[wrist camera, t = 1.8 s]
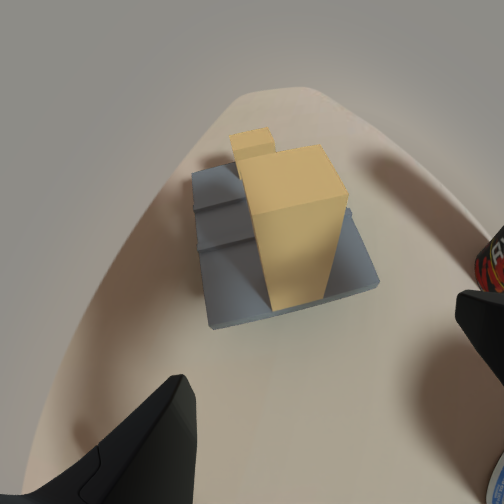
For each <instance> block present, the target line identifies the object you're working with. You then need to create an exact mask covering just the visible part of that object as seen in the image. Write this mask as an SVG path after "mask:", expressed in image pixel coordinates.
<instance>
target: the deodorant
mask: <svg viewBox="0 0 504 504" xmlns="http://www.w3.org/2000/svg"><path fill="white" fill-rule="evenodd" d="M475 275H476V279H477V282H478V284H479V286H480V289H481V290H482V291H485V292H493V293H502V294H504V226H503V227H502V228H501V229H500V231H499V232H498V233H497V234H496V235H495V236H494V237H493V239H492V240H491V241H490V242H489V243H488V244H487V245H486V246H485V247H484V249H483V250H482V251H481V252H480V253H479V254H478V256H477V258H476V261H475Z"/></svg>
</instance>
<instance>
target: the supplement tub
mask: <svg viewBox="0 0 504 504" xmlns="http://www.w3.org/2000/svg"><path fill="white" fill-rule="evenodd" d="M486 502H487V504H504V453H503V454H502V456H501V458H500V460H499V461H498V463H497V465H496V467H495V469H494V472H493V474H492V476H491V479H490V482H489V485H488V489H487V496H486Z"/></svg>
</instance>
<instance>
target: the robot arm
mask: <svg viewBox="0 0 504 504" xmlns="http://www.w3.org/2000/svg"><path fill="white" fill-rule="evenodd" d="M455 319H456V321H457V323H458V324H459V326H460V327H461V328H462V330H463V331H464V333H465V334H466V336H467V337H468V339H469V340H470V342H471V343H472V345H473V346H474V348H475V349H476V351H477V352H478V353H479V355H480V356H481V357H482V358H483V360H484V361H485V362H486V363H487V365H488V366H489V367H490V369H491V370H492V371H493V373H494V374H495V375H496V377H497V378H498V379H499V381H500V382H501V383H502V385H503V386H504V294H502V293H493V292H485V291H476V290H464V291H462V292H460V293H459V294H458V295H457V299H456V309H455ZM196 452H197V420H196V397H195V394H194V392H193V390H192V388H191V386H190V384H189V382H188V380H187V378H186V376H185V375H183V374H179V375H172V376H170V377H169V378H168V379H167V380H166V381H165V382H164V383H163V384H162V385H161V386H160V387H159V388H158V389H156V390H155V391H154V392H153V393H152V394H151V395H150V396H149V397H148V398H147V399H146V400H145V401H144V402H143V403H142V404H141V405H140V406H139V407H138V408H136V409H135V410H134V411H133V412H132V413H131V414H130V415H129V416H128V417H127V418H126V419H125V420H124V421H123V422H121V423H120V424H119V425H118V426H117V427H116V428H115V429H114V430H113V431H112V432H111V433H109V434H108V435H107V436H106V437H105V438H104V439H103V440H102V441H101V442H99V443H98V445H96V446H95V447H94V448H93V449H92V450H91V451H89V452H88V453H87V454H86V455H85V456H84V457H82V458H81V459H80V460H79V461H78V462H76V463H75V464H74V465H72V466H71V467H70V468H68V469H67V470H65V471H64V472H63V473H61V474H60V475H58V476H57V477H55V478H54V479H53V480H51V481H50V482H48V483H47V484H45V485H44V486H42V487H41V488H39V489H37V490H36V491H34V492H31V493H29V494H24V495H5V494H0V504H193V490H194V476H195V464H196Z"/></svg>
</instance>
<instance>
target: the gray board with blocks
mask: <svg viewBox="0 0 504 504" xmlns="http://www.w3.org/2000/svg"><path fill="white" fill-rule="evenodd" d="M229 137H230V141H231V145H232V150H233V154H234V158H235V162H233V163H229V164H225V165H221V166H217V167H213V168H210V169H206V170H202V171H198V172H195V173H192V186H193V198H194V205H193V211H194V213H195V220H196V230H197V239H198V244H197V251H198V253H199V257H200V265H201V273H202V281H203V289H204V296H205V303H206V311H207V317H208V324H209V327H211V328H212V329H213V330H216V329H221V328H225V327H230V326H235V325H239V324H244V323H248V322H253V321H257V320H261V319H266V318H270V317H274V316H278V315H282V314H286V313H290V312H294V311H298V310H302V309H305V308H309V307H313V306H317V305H320V304H324V303H327V302H331V301H334V300H338V299H341V298H345V297H348V296H351V295H355V294H358V293H361V292H365V291H368V290H371V289H374V288H376V287H377V285H378V284H379V282H380V280H379V278H378V275H377V273H376V271H375V268H374V266H373V263H372V261H371V259H370V256H369V254H368V252H367V250H366V247H365V245H364V243H363V241H362V239H361V236H360V234H359V232H358V230H357V228H356V226H355V224H354V222H353V219H352V212H351V210H350V208H347V207H346V205H347V200H348V195H349V194H348V192H347V190H346V188H345V186H344V184H343V183H342V181H341V179H340V177H339V175H338V174H337V172H336V170H335V168H334V167H333V165H332V163H331V162H330V160H329V158H328V157H327V155H326V153H325V152H324V150H323V148H322V147H321V145H320V144H319V145H313V146H307V147H301V148H296V149H291V150H285V151H280V152H276V151H275V142H274V139H273V137H272V135H271V133H270V131H269V129H268V127H266V128H261V129H256V130H251V131H247V132H242V133H238V134H234V135H229Z"/></svg>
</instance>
